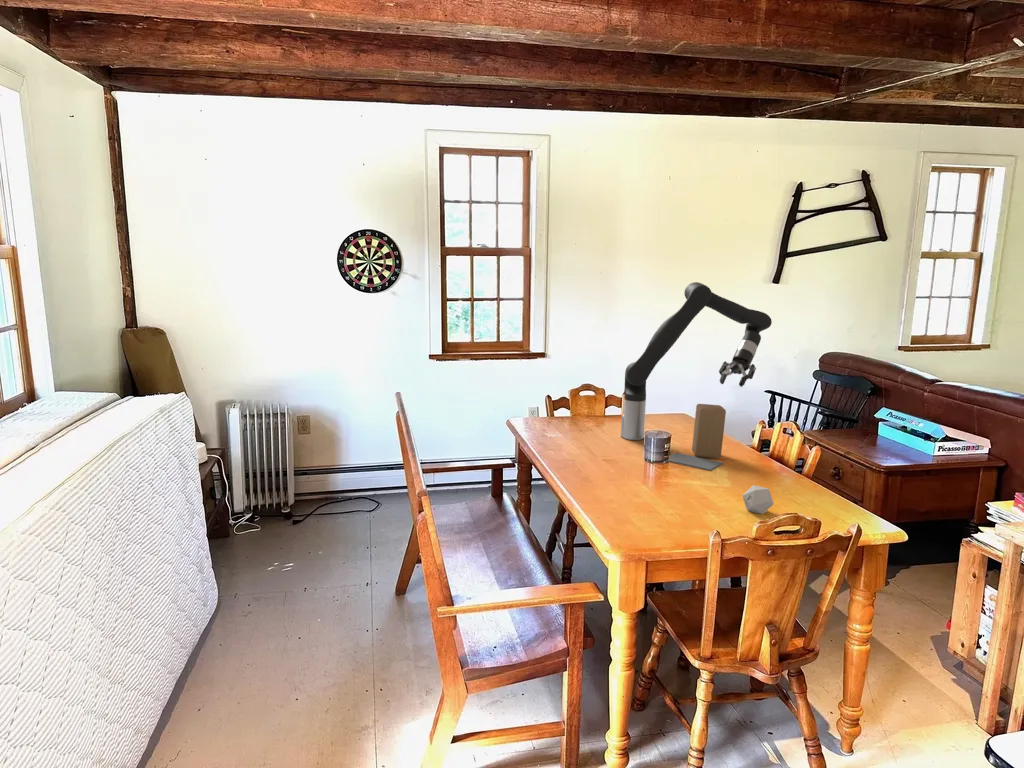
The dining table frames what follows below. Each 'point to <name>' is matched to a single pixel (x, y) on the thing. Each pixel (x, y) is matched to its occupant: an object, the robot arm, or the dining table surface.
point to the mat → (694, 461)
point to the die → (758, 499)
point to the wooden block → (708, 430)
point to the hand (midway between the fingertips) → (730, 384)
